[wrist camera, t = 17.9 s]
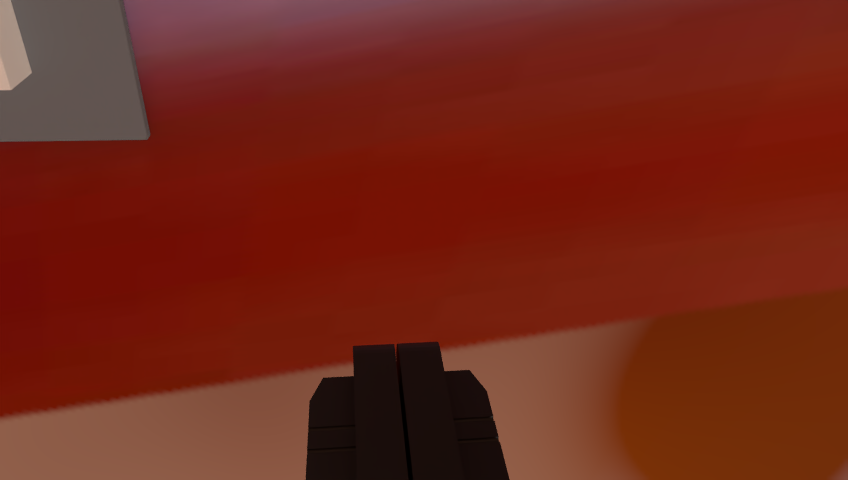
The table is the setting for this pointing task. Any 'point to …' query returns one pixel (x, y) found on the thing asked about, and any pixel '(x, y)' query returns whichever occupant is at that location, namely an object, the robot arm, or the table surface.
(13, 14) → the beige flat block
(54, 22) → the mat
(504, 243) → the table surface
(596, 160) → the table surface
